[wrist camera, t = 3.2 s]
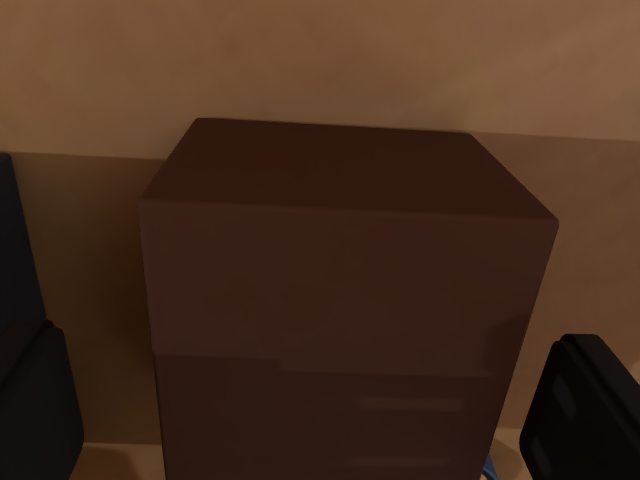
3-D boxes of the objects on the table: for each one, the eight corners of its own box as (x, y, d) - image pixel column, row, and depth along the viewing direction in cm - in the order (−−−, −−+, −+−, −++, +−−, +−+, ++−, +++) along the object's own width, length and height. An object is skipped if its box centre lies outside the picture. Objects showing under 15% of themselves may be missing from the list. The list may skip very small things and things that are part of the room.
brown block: (471, 132, 11) (564, 221, 7) (411, 427, 15) (448, 586, 11) (194, 116, 11) (133, 199, 7) (208, 422, 15) (175, 584, 11)
